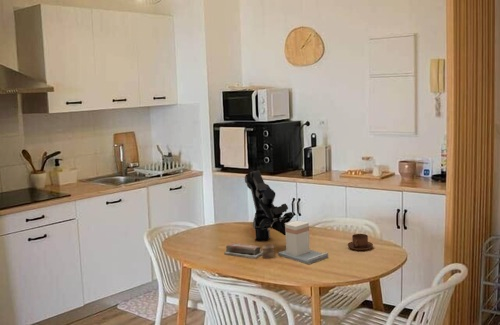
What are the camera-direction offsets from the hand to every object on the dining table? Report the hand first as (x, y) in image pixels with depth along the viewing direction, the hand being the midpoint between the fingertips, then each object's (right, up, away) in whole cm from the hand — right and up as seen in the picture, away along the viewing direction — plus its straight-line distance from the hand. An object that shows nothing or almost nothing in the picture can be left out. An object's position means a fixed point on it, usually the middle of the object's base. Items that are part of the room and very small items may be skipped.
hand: (285, 234), depth 274 cm
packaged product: (-20, -10, +1) cm, 22 cm away
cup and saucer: (+36, -7, +1) cm, 37 cm away
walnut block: (-8, -10, -5) cm, 14 cm away
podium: (+8, -9, -7) cm, 14 cm away
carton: (+6, -8, -5) cm, 11 cm away
